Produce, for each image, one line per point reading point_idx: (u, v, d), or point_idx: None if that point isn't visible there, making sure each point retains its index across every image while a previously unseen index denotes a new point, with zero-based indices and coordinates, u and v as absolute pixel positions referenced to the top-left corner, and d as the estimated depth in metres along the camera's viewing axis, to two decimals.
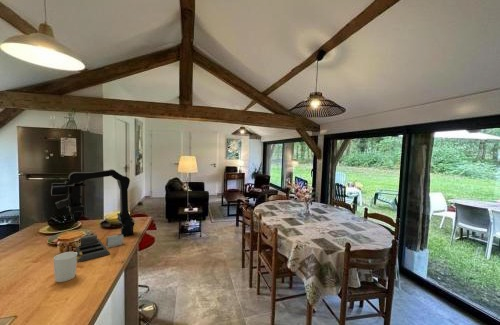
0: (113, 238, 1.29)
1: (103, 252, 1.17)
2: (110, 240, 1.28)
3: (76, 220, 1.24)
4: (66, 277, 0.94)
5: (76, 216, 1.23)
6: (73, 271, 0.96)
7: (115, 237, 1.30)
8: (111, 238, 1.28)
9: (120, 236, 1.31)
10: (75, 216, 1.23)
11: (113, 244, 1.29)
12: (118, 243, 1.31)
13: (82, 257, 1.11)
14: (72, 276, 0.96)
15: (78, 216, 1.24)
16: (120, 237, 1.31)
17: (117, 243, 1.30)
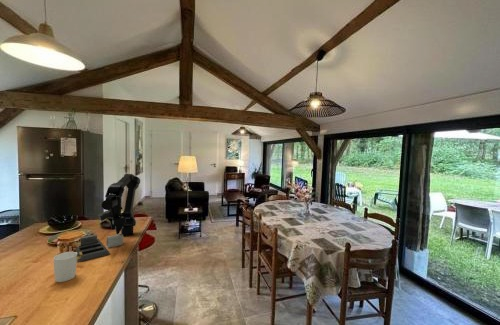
0: (113, 238, 1.29)
1: (103, 252, 1.17)
2: (110, 240, 1.28)
3: (118, 231, 1.27)
4: (66, 277, 0.94)
5: (118, 228, 1.26)
6: (73, 271, 0.96)
7: (115, 237, 1.30)
8: (111, 238, 1.28)
9: (120, 236, 1.31)
10: (117, 228, 1.26)
11: (113, 244, 1.29)
12: (118, 243, 1.31)
13: (82, 257, 1.11)
14: (72, 276, 0.96)
15: (120, 228, 1.27)
16: (120, 237, 1.31)
17: (117, 243, 1.30)
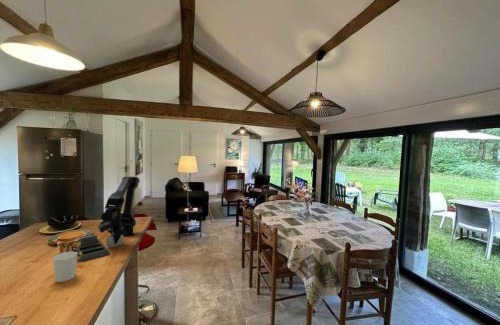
0: (113, 238, 1.29)
1: (103, 252, 1.17)
2: (110, 239, 1.28)
3: (116, 241, 1.29)
4: (66, 277, 0.94)
5: (116, 237, 1.29)
6: (73, 271, 0.96)
7: None
8: (111, 238, 1.28)
9: (120, 236, 1.31)
10: (115, 237, 1.28)
11: (113, 243, 1.29)
12: (118, 243, 1.31)
13: (82, 257, 1.11)
14: (72, 276, 0.96)
15: (118, 238, 1.29)
16: (120, 237, 1.31)
17: (117, 243, 1.30)
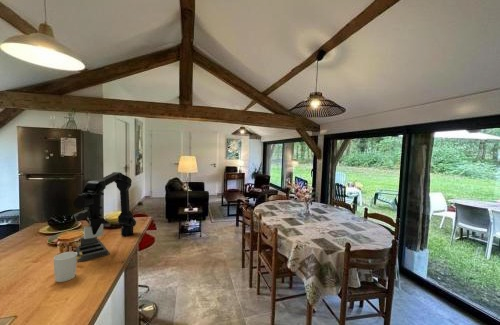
0: (91, 228, 1.15)
1: (103, 252, 1.17)
2: (88, 230, 1.14)
3: (95, 232, 1.16)
4: (66, 277, 0.94)
5: (95, 228, 1.15)
6: (73, 271, 0.96)
7: None
8: (89, 228, 1.14)
9: (100, 226, 1.18)
10: (94, 228, 1.15)
11: (91, 234, 1.15)
12: (97, 234, 1.17)
13: (82, 257, 1.11)
14: (72, 276, 0.96)
15: (97, 228, 1.16)
16: (99, 227, 1.18)
17: (96, 234, 1.17)
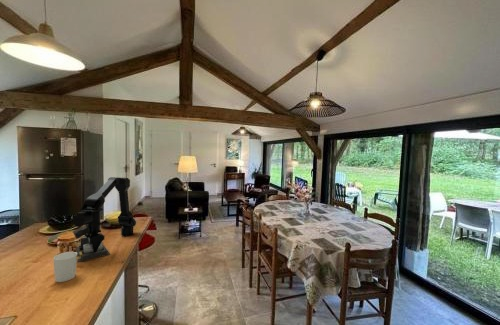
0: (91, 246, 1.15)
1: (103, 252, 1.17)
2: (87, 248, 1.14)
3: (95, 250, 1.14)
4: (66, 277, 0.94)
5: (95, 245, 1.13)
6: (73, 271, 0.96)
7: None
8: (88, 247, 1.15)
9: None
10: (94, 245, 1.13)
11: (90, 252, 1.15)
12: None
13: (82, 257, 1.11)
14: (72, 276, 0.96)
15: (97, 246, 1.14)
16: None
17: None
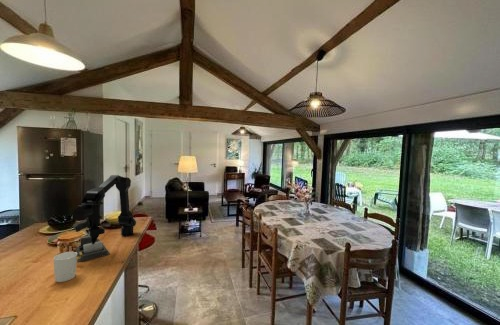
0: (91, 246, 1.15)
1: (103, 252, 1.17)
2: (87, 248, 1.14)
3: (94, 241, 1.17)
4: (66, 277, 0.94)
5: (94, 237, 1.16)
6: (73, 271, 0.96)
7: (93, 245, 1.16)
8: (88, 247, 1.15)
9: (99, 244, 1.18)
10: (93, 237, 1.16)
11: (90, 252, 1.15)
12: None
13: (82, 257, 1.11)
14: (72, 276, 0.96)
15: (96, 237, 1.17)
16: (99, 245, 1.18)
17: None
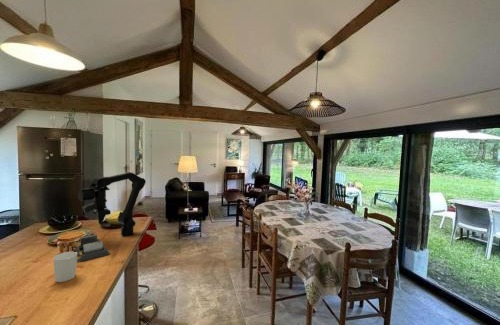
0: (91, 246, 1.15)
1: (103, 252, 1.17)
2: (87, 248, 1.14)
3: (100, 221, 1.32)
4: (66, 277, 0.94)
5: (100, 218, 1.32)
6: (73, 271, 0.96)
7: (93, 245, 1.16)
8: (88, 247, 1.15)
9: (99, 244, 1.18)
10: (100, 218, 1.31)
11: (90, 252, 1.15)
12: None
13: (82, 257, 1.11)
14: (72, 276, 0.96)
15: (102, 218, 1.32)
16: (99, 245, 1.18)
17: None
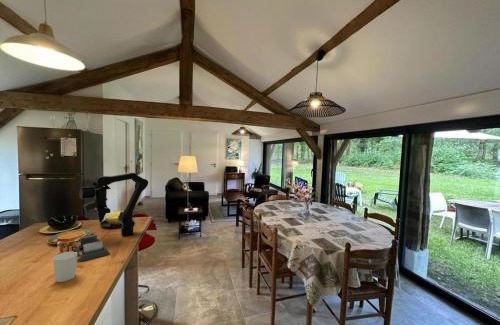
0: (91, 246, 1.15)
1: (103, 252, 1.17)
2: (87, 248, 1.14)
3: (101, 220, 1.35)
4: (66, 277, 0.94)
5: (101, 216, 1.34)
6: (73, 271, 0.96)
7: (93, 245, 1.16)
8: (88, 247, 1.15)
9: (99, 244, 1.18)
10: (100, 216, 1.34)
11: (90, 252, 1.15)
12: None
13: (82, 257, 1.11)
14: (72, 276, 0.96)
15: (102, 216, 1.35)
16: (99, 245, 1.18)
17: None
